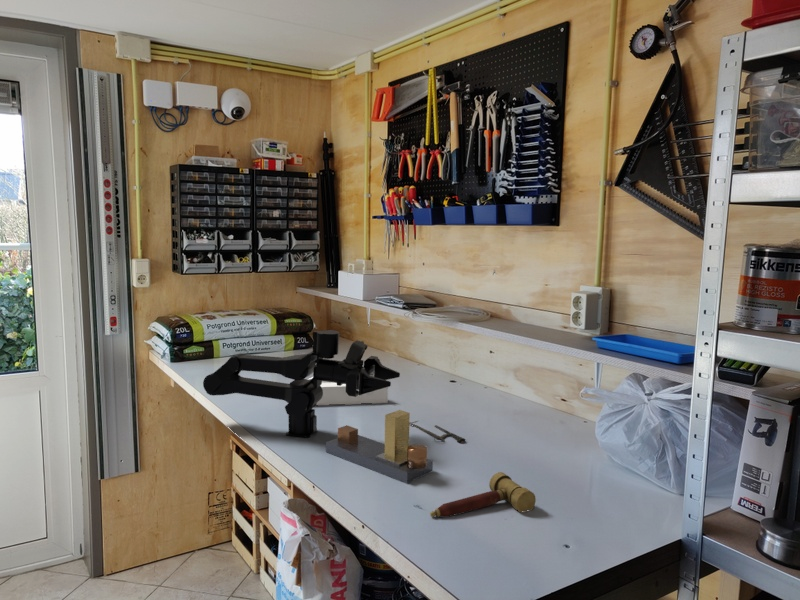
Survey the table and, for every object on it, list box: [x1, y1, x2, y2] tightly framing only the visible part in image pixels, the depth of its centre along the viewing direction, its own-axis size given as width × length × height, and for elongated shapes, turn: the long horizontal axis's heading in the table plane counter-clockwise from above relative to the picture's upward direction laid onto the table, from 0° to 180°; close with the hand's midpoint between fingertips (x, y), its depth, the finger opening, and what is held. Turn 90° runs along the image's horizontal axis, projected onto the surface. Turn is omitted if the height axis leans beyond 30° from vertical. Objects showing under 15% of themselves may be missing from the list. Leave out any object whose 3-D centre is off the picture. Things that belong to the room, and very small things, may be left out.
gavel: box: [429, 471, 537, 518], centre depth 119 cm, size 21×5×10 cm
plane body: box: [325, 425, 434, 484], centre depth 141 cm, size 27×9×6 cm, turn 49°
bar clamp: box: [409, 420, 467, 444], centre depth 163 cm, size 24×10×2 cm, turn 28°
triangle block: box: [307, 376, 389, 406], centre depth 191 cm, size 30×26×6 cm
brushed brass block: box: [384, 409, 411, 461], centre depth 137 cm, size 3×5×10 cm, turn 139°
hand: (395, 379), depth 151 cm, fingers open, 9 cm apart
